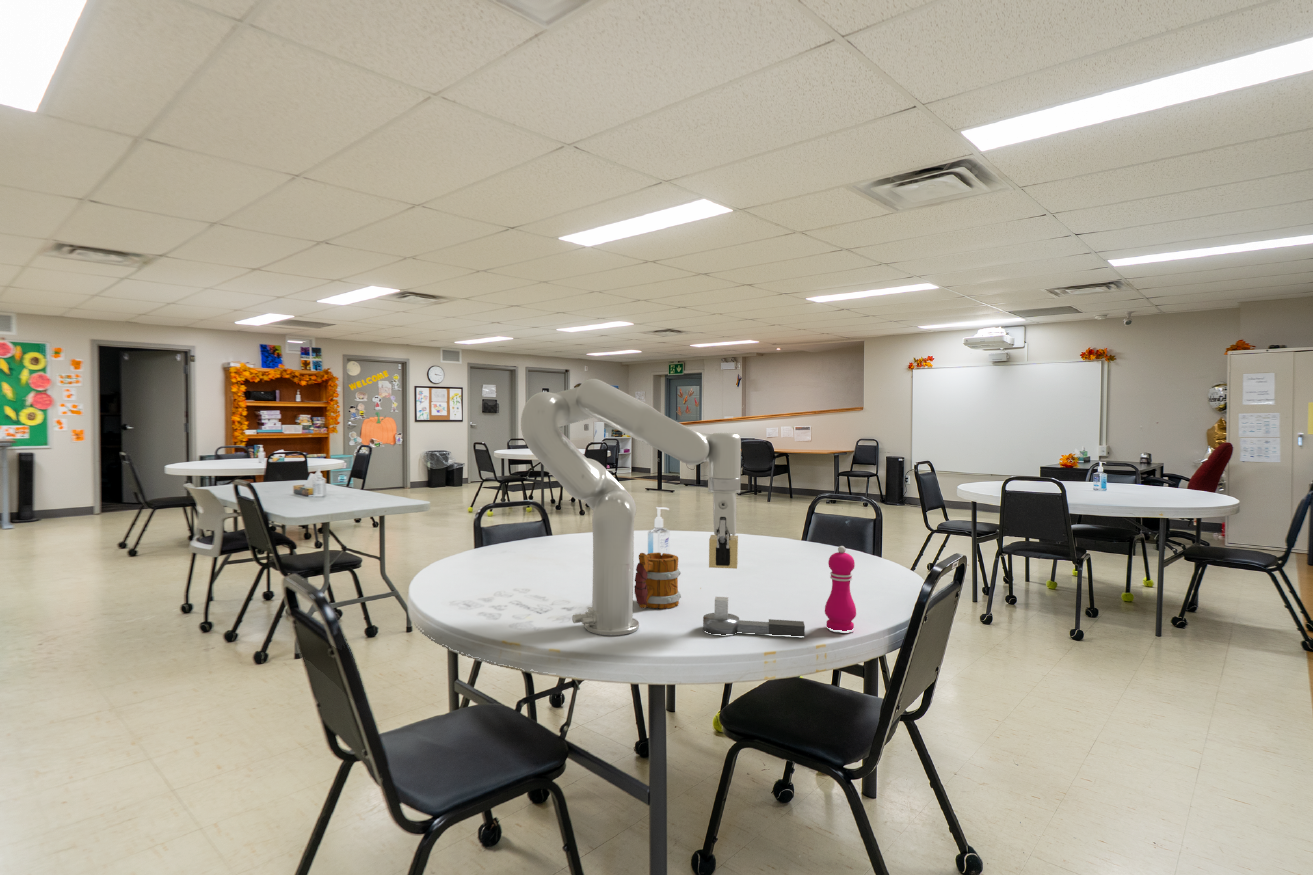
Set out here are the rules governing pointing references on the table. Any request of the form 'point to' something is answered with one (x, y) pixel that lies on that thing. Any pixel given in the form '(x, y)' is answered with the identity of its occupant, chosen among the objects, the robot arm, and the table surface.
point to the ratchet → (747, 623)
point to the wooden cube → (733, 552)
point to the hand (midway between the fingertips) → (723, 561)
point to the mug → (657, 581)
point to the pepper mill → (840, 592)
